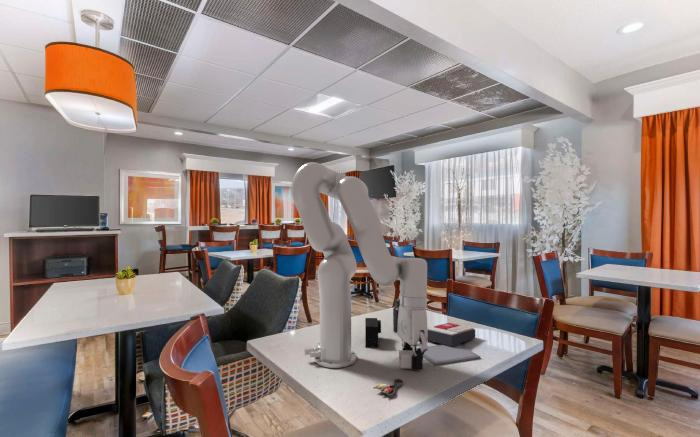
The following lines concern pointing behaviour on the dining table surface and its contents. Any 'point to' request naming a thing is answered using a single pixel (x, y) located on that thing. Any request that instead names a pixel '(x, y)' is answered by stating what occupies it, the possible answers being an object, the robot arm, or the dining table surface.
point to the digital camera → (372, 332)
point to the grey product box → (450, 334)
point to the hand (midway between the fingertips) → (412, 364)
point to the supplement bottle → (396, 315)
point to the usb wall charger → (405, 359)
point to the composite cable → (389, 388)
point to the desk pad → (448, 354)
